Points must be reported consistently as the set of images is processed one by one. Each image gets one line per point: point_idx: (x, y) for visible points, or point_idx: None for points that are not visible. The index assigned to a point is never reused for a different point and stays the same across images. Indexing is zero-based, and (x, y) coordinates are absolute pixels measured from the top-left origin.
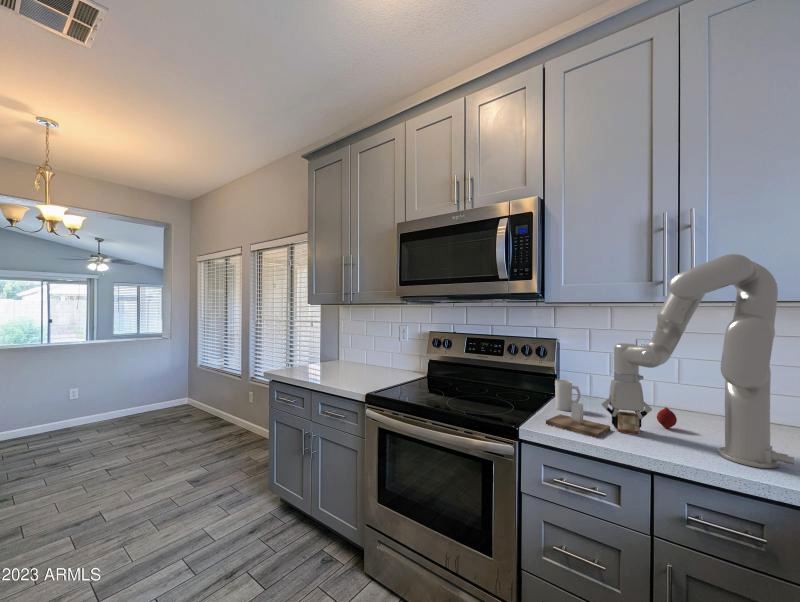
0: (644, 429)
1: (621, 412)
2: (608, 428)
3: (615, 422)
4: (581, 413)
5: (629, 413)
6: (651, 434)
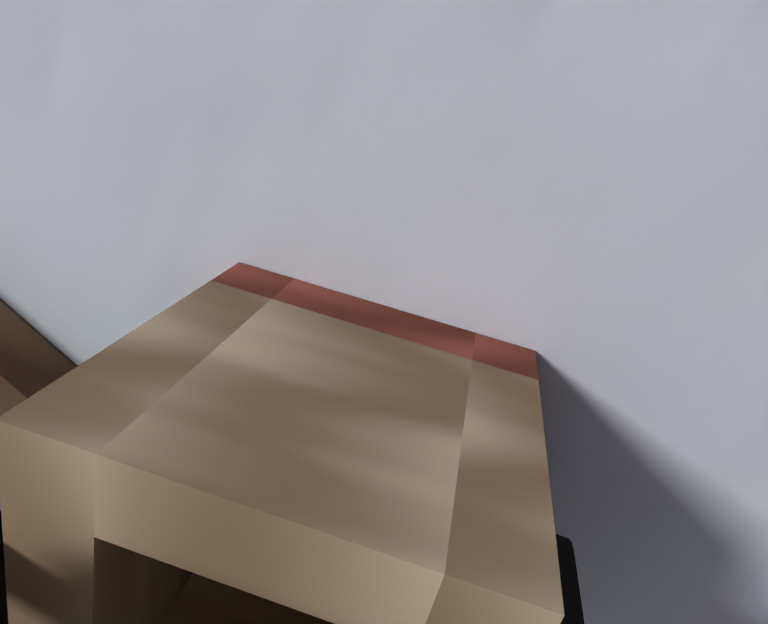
0: (737, 378)
1: (171, 551)
2: None
3: None
4: None
5: (384, 618)
6: (655, 579)
